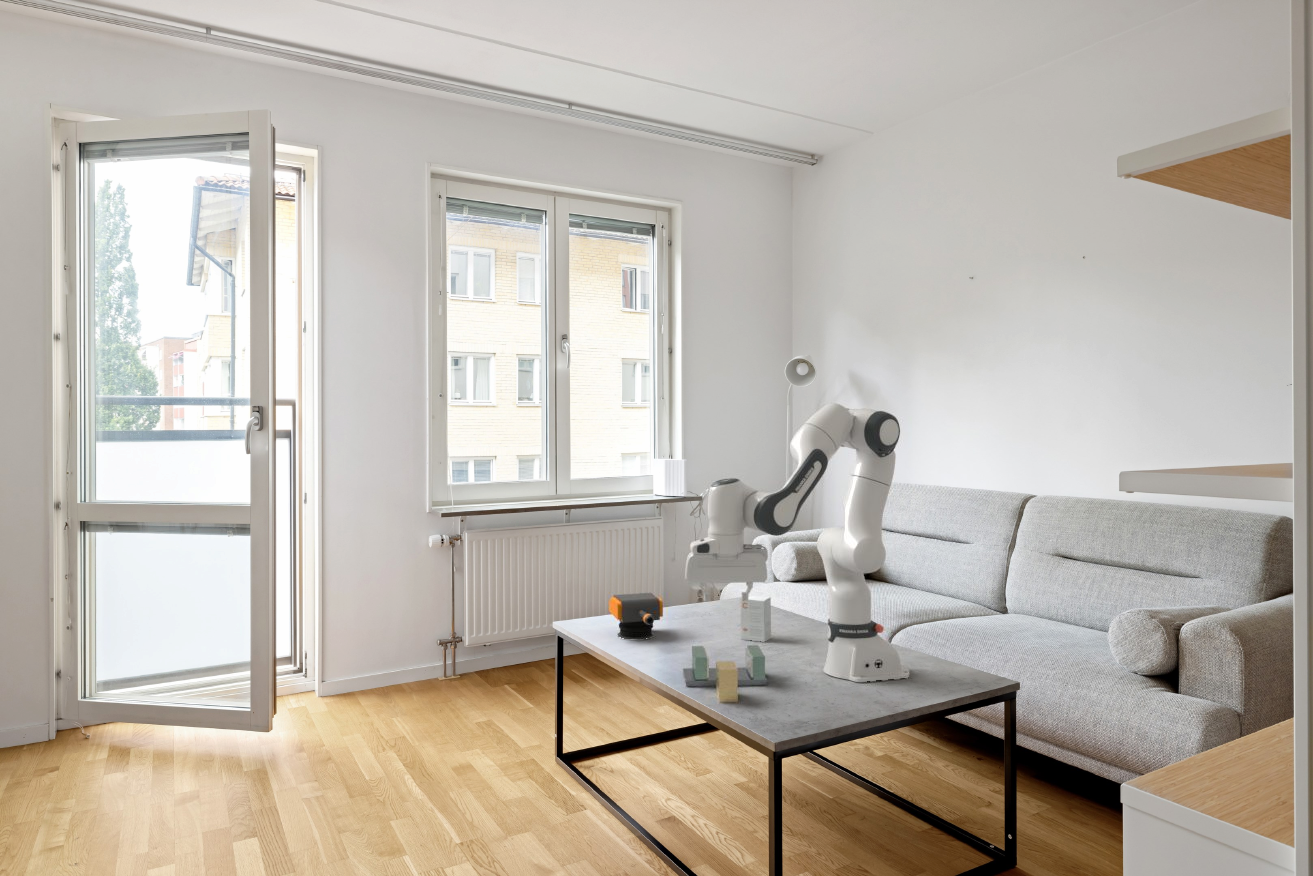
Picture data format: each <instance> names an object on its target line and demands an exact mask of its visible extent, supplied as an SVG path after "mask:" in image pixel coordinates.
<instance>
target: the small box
mask: <svg viewBox="0 0 1313 876" xmlns="http://www.w3.org/2000/svg"><path fill="white" fill-rule="evenodd" d="M771 604H772V602H771V597H770V596H761V595H759V596H758V595H749V594H748V601H742V597H741V598H740V640H741V639H742V641H743V640H744V641H750V640H752V642H753V641H754V642H760V641H761V643H766V642H767V641H768V640H770V639H772V610H771V609H772V606H771ZM765 641H766V642H765Z"/></svg>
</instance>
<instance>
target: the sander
mask: <svg viewBox="0 0 1313 876" xmlns="http://www.w3.org/2000/svg"><path fill="white" fill-rule="evenodd" d="M608 612H609V613H611V615H612V616H613V617H614V618H615V619H616V620H617V621H619V623H618V628H619V632H617V635H618V636H617V637H618V638H619V637H621V638H620V639H622V638H624V639H623V640H626V639H644V640H647V639H646V638H649V639H651V638H650V637H652V638H654V637H655V633H654V631H653V628H654V623H655V621H660V620H661V618H663V617H664V603H663V599H661V598H660V597H659V596H658V595H655V594H653V593H652V592H643V593H642V592H641V593H640V592H639V593H627V594H614V595H613V596H612V597H610V598H609V602H608ZM653 636H654V637H653Z"/></svg>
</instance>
